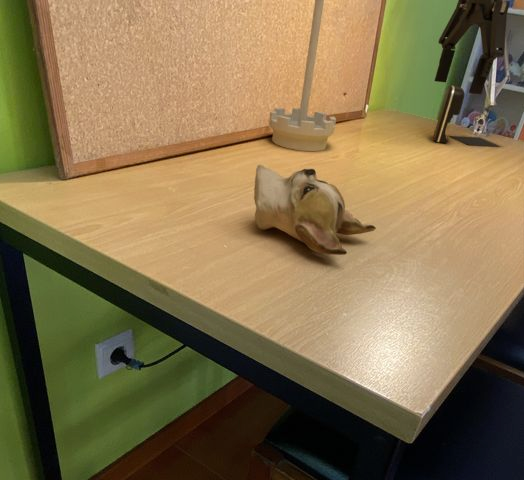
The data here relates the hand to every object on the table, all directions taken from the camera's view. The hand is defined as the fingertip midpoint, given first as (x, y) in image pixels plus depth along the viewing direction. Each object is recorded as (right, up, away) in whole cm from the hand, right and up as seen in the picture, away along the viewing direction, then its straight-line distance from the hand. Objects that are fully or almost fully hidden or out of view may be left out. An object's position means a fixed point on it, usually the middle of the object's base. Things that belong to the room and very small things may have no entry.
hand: (456, 87), depth 113 cm
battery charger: (-1, -9, +7) cm, 12 cm away
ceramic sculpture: (-39, -45, -50) cm, 78 cm away
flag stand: (-36, -17, -11) cm, 41 cm away
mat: (+8, -8, +10) cm, 15 cm away
